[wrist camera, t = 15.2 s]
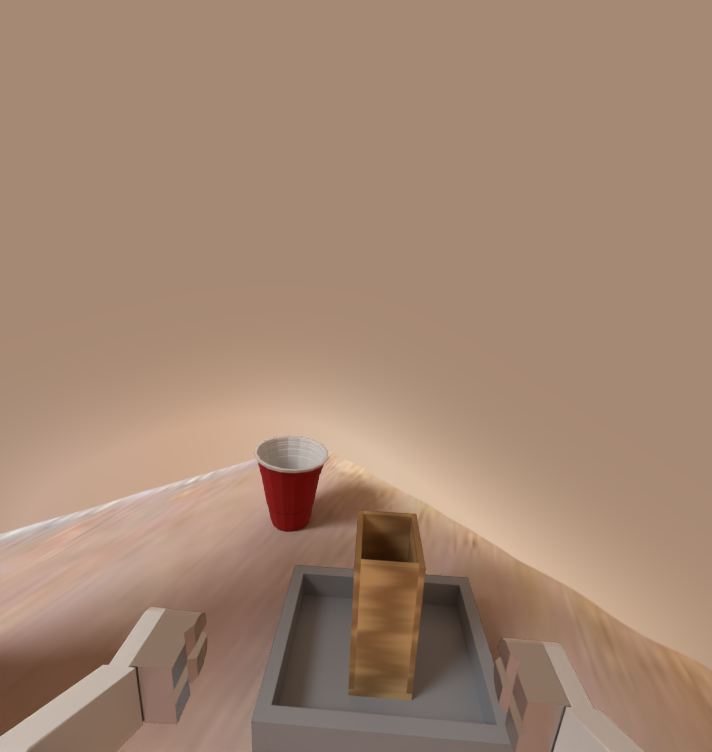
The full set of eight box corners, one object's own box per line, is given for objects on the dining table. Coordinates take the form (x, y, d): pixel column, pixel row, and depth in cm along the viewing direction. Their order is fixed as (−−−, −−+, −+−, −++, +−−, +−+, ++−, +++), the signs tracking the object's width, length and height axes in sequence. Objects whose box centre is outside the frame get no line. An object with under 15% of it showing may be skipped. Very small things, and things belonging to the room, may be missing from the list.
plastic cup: (319, 547, 53) (321, 470, 50) (244, 539, 54) (241, 463, 51) (332, 503, 63) (334, 437, 60) (269, 496, 64) (268, 431, 61)
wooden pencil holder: (348, 695, 33) (354, 563, 30) (352, 624, 40) (358, 510, 36) (411, 700, 33) (425, 568, 30) (405, 628, 40) (416, 514, 36)
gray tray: (252, 758, 30) (251, 721, 29) (295, 592, 45) (295, 564, 44) (510, 782, 29) (518, 745, 28) (463, 605, 44) (467, 577, 43)
